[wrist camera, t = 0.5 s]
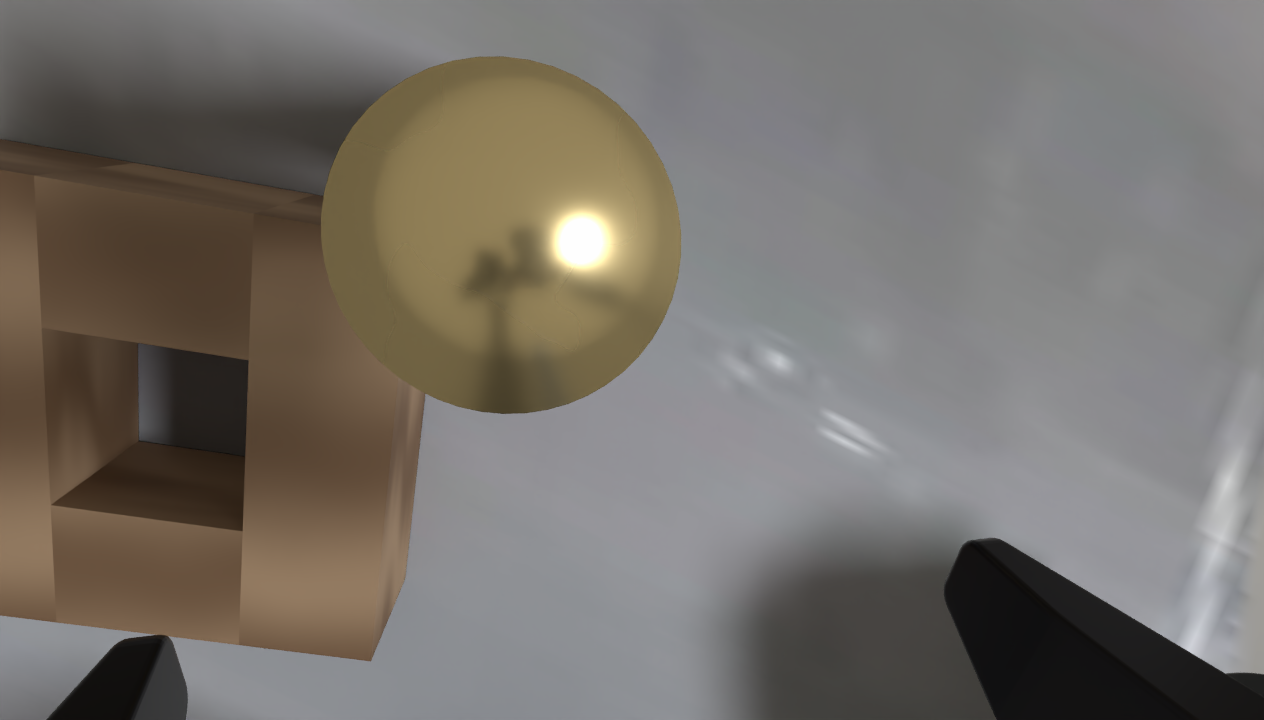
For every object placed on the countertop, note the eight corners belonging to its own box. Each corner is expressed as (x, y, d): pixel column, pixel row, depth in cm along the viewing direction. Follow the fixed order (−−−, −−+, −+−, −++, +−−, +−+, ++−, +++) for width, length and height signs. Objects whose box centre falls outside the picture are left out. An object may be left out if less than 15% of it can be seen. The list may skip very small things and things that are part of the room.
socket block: (405, 578, 26) (370, 661, 22) (21, 527, 24) (-86, 604, 21) (444, 217, 22) (411, 240, 18) (-4, 138, 21) (-139, 146, 17)
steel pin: (621, 251, 22) (645, 436, 10) (476, 226, 22) (310, 385, 10) (648, 101, 21) (715, 97, 9) (494, 71, 21) (332, 20, 8)
